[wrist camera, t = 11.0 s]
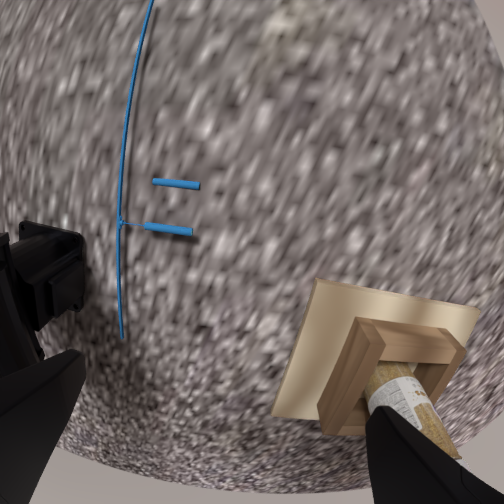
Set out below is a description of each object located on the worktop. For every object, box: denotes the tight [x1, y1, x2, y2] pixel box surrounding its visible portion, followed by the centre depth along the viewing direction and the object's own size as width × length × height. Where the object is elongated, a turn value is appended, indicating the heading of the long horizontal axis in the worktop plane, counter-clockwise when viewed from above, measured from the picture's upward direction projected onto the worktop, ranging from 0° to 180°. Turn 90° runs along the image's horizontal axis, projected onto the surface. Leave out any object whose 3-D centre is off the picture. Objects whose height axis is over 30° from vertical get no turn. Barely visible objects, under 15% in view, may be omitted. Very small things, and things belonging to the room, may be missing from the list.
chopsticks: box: [116, 0, 200, 339], centre depth 18 cm, size 1×25×5 cm
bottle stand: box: [271, 278, 481, 435], centre depth 21 cm, size 16×13×4 cm
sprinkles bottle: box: [363, 360, 472, 473], centre depth 16 cm, size 5×5×14 cm
